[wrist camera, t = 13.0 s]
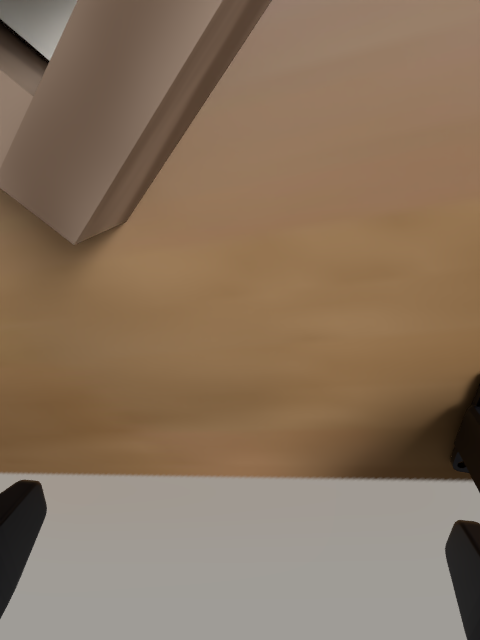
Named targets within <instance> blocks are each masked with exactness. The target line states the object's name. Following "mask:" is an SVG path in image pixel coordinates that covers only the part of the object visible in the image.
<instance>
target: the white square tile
mask: <svg viewBox="0 0 480 640" xmlns="http://www.w3.org/2000/svg"><path fill="white" fill-rule="evenodd" d="M76 3H77V0H0V19H1V20H2V21H4V22H5V23H6V24H7V25H8V26H9V27H11V28H12V29H13V30H14V31H15V32H16V33H18V34H19V35H20V36H21V37H22V38H23V39H25V40H26V41H27V42H28V43H29V44H30V45H32V46H33V47H34V48H35V49H36V50H37V51H39V52H40V53H41V54H42V55H43V56H45V57H46V58H47V59H48V60H49V61H50V59H51V57H52V55H53V53H54V50H55V48H56V46H57V44H58V42H59V40H60V37H61V35H62V33H63V31H64V29H65V27H66V24H67V22H68V20H69V18H70V16H71V14H72V11H73V9H74V7H75V5H76Z"/></svg>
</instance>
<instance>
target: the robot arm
mask: <svg viewBox="0 0 480 640" xmlns="http://www.w3.org/2000/svg"><path fill="white" fill-rule="evenodd" d="M454 444H455V448H454V451H453V453H452V456H451V458H450V462H451V464H452V466H453V468H454V469H455V470H457V471H460V472H467V473H470V475H471V477H472V479H473V481H474V483H475V484H476V486H477V488H478V490H479V492H480V384H479V387H478V390H477V392H476V395H475V397H474V400H473V402H472V405H471V406H470V407H469V408H468V409H467V411H466V414H465V416H464V419H463V421H462V424H461V427H460V429H459V432H458V434H457V437H456V439H455V442H454ZM461 461H463V462H462V463H459V462H461ZM46 511H47V507H46V501H45V498H44V494H43V489H42V485H41V483H40V482H39V481H33V480H21V481H18V482H16V483H15V484H13V485H12V486H10V487H9V488H7V489H6V490H5V491H3V492H2V493H0V618H1V616H2V615H3V613H4V611H5V609H6V607H7V605H8V603H9V601H10V599H11V597H12V595H13V593H14V591H15V589H16V586H17V584H18V582H19V579H20V577H21V575H22V572H23V569H24V567H25V565H26V562H27V560H28V557H29V555H30V553H31V550H32V548H33V545H34V543H35V540H36V538H37V536H38V533H39V531H40V528H41V526H42V524H43V521H44V519H45V516H46ZM445 552H446V559H447V563H448V567H449V571H450V574H451V579H452V582H453V586H454V590H455V595H456V598H457V602H458V606H459V610H460V614H461V618H462V622H463V626H464V630H465V633H466V637H467V640H480V524H479V523H477V522H474V521H464V520H458V521H457V522H455V524H454V526H453V528H452V531H451V533H450V535H449V538H448V541H447V543H446V548H445Z"/></svg>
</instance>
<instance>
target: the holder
mask: <svg viewBox="0 0 480 640" xmlns="http://www.w3.org/2000/svg"><path fill="white" fill-rule="evenodd" d="M271 1H272V0H77V3H76V5H75V7H74V9H73V11H72V14H71V16H70V18H69V20H68V22H67V24H66V27H65V29H64V31H63V33H62V35H61V37H60V40H59V42H58V44H57V46H56V48H55V50H54V53H53V55H52V57H51V59H50V61H49V64H48V63H47V62H46V61H45V60H43V59H42V58H41V57H40V56H39V55H38V54H36V53H35V52H34V51H33V50H32V49H30V48H29V47H28V46H27V45H26V44H25V43H23V42H22V41H21V40H20V39H19V38H18V37H16V36H15V35H14V34H13V33H12V32H11V31H9V30H8V29H7V28H6V27H5V26H4V25H2V24H1V23H0V188H1V189H2V190H3V191H5V192H6V193H7V194H8V195H10V196H11V197H12V198H14V199H15V200H16V201H18V202H19V203H20V204H21V205H23V206H24V207H25V208H27V209H28V210H29V211H30V212H32V213H33V214H34V215H36V216H37V217H38V218H40V219H41V220H42V221H43V222H45V223H46V224H47V225H49V226H50V227H51V228H53V229H54V230H55V231H56V232H58V233H59V234H60V235H62V236H63V237H64V238H65V239H67V240H68V241H69V242H71V243H72V244H73V245H75V244H78V243H80V242H82V241H84V240H86V239H89V238H91V237H93V236H95V235H98V234H100V233H102V232H104V231H106V230H109V229H111V228H113V227H115V226H118V225H120V224H122V223H124V222H126V221H127V220H128V218H129V217H130V215H131V214H132V212H133V210H134V209H135V207H136V206H137V204H138V203H139V201H140V200H141V198H142V197H143V195H144V194H145V192H146V191H147V189H148V188H149V186H150V185H151V183H152V182H153V180H154V179H155V177H156V176H157V174H158V172H159V171H160V169H161V168H162V166H163V165H164V163H165V162H166V160H167V159H168V157H169V156H170V154H171V153H172V151H173V150H174V148H175V147H176V145H177V144H178V142H179V141H180V139H181V137H182V136H183V134H184V133H185V131H186V130H187V128H188V127H189V125H190V124H191V122H192V121H193V119H194V118H195V116H196V115H197V113H198V112H199V110H200V109H201V107H202V106H203V104H204V102H205V101H206V99H207V98H208V96H209V95H210V93H211V92H212V90H213V89H214V87H215V86H216V84H217V83H218V81H219V80H220V78H221V77H222V75H223V74H224V72H225V71H226V69H227V68H228V66H229V64H230V63H231V61H232V60H233V58H234V57H235V55H236V54H237V52H238V51H239V49H240V48H241V46H242V45H243V43H244V42H245V40H246V39H247V37H248V36H249V34H250V33H251V31H252V29H253V28H254V26H255V25H256V23H257V22H258V20H259V19H260V17H261V16H262V14H263V13H264V11H265V10H266V8H267V7H268V5H269V4H270V2H271Z"/></svg>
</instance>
